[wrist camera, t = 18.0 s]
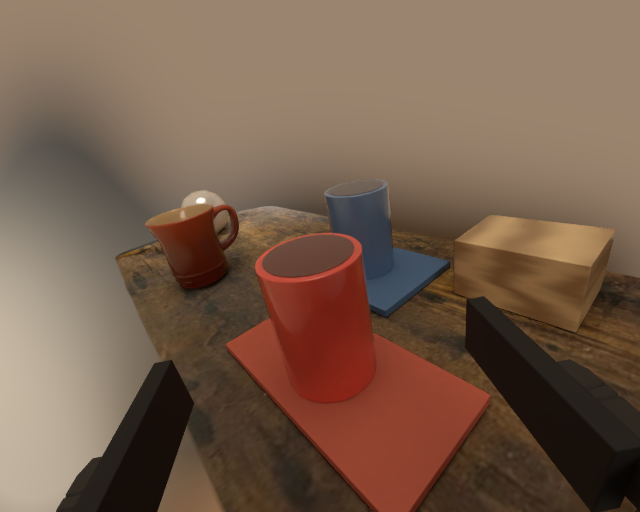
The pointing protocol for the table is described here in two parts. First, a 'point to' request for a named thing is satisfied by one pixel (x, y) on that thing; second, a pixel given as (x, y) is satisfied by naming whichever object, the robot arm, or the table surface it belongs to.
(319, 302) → the red cup
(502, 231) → the wooden block
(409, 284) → the blue mat
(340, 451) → the red mat
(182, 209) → the mug
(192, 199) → the potion bottle
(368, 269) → the blue cup
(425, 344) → the table surface
